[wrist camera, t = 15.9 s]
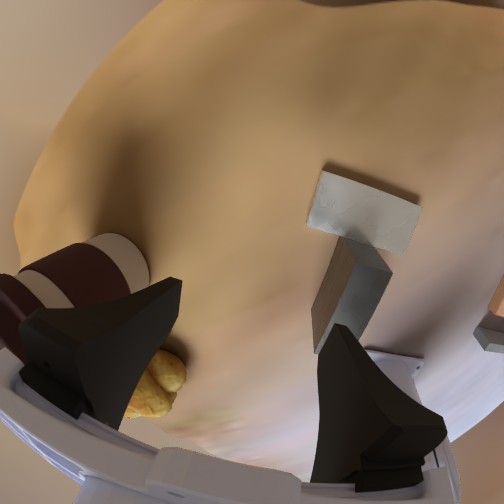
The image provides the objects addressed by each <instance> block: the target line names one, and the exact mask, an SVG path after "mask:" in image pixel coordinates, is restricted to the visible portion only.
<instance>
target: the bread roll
mask: <svg viewBox="0 0 504 504" xmlns="http://www.w3.org/2000/svg"><path fill="white" fill-rule="evenodd" d="M185 380H186V371H185V366H184V364H183V363H182V361H181V360H180V359H179V358H177V357H176V356H175V355H173V354H171V353H169V352H167V351H165V350H162V349H158V351H157V352H156V354H155V355H154V357H153V358H152V359H151V361H150V362H149V364H148V366H147V367H146V369H145V371H144V372H143V374H142V376H141V378H140V380H139V382H138V384H137V386H136V389H135V391H134V393H133V395H132V397H131V399H130V402H129V404H128V406H127V409H126V411H125V414H124V416H126V417H128V418H129V419H130V418H134V417H139V416H142V415H143V416H146V417H161V416H163V415H165V414H167V413H168V412H169V411H170V410H171V408H172V403H173V402H174V400H175V398H176V396H177V392H176V391H178V390H179V389H181V388H182V385H183V383H184V382H185Z"/></svg>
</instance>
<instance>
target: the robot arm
mask: <svg viewBox="0 0 504 504" xmlns="http://www.w3.org/2000/svg"><path fill="white" fill-rule="evenodd" d="M181 288H182V280H179V279H176V278H173V277H168V278H166V279H164V280H162V281H159V282H157V283H155V284H153V285H151V286H149V287H146V288H144V289H142V290H140V291H137V292H135V293H132V294H129V295H127V296H124V297H121V298H118V299H115V300H112V301H108V302H104V303H100V304H94V305H89V306H83V307H74V308H38V309H37V310H35V311H34V312H33V313H32V314H31V315H29V316H28V317H27V318H26V319H25V320H23V321H22V322H21V323H20V324H19V337H20V340H21V343H22V346H23V348H24V351H25V353H26V356H27V358H28V360H29V361H28V362H27V364H26V365H25V366H24V364H23V363H22V361H21V360H20V359H19V358H18V357H16V356H15V355H14V354H13V353H12V352H10V351H9V350H8V349H7V348H6V347H4V348H3V349H2V350H0V420H1V421H2V422H3V423H4V424H6V425H7V426H8V427H9V428H10V429H11V430H12V431H13V432H14V433H15V434H16V435H17V436H18V437H19V438H20V439H22V440H23V441H24V442H25V443H26V444H27V445H28V446H30V447H31V448H32V449H33V450H35V451H36V452H37V453H38V454H39V455H41V456H42V457H43V458H44V459H46V460H47V461H48V462H49V463H51V464H52V465H53V466H55V467H56V468H58V469H59V470H61V471H62V472H63V473H65V474H66V475H68V476H69V477H70V478H72V479H74V480H75V481H77V482H78V483H80V484H81V485H82V486H81V488H80V490H79V492H78V494H77V496H76V497H75V500H74V501H73V503H72V504H459V503H460V498H461V496H462V491H461V486H460V476H459V472H458V467H457V464H456V460H455V457H454V453H453V450H452V447H451V445H450V441H449V439H448V436H447V433H448V432H447V429H446V426H445V423H444V420H443V417H442V416H440V415H438V414H436V413H435V412H433V411H431V410H429V409H427V408H426V407H424V406H422V403H421V401H420V398H419V395H418V392H417V389H416V387H415V384H414V381H413V378H414V377H415V375H416V374H417V373H418V372H419V370H420V369H421V368H422V366H423V365H424V363H425V362H424V360H423V359H420V358H413V357H407V356H401V355H395V354H389V353H383V352H377V351H372V350H364V348H363V347H362V345H361V344H360V343H359V341H358V340H357V339H356V337H355V336H354V335H353V333H352V332H351V331H350V329H349V328H348V327H347V326H346V325H342V324H337V323H334V325H333V327H332V329H331V331H330V333H329V335H328V337H327V339H326V341H325V343H324V345H323V347H322V349H321V350H320V352H319V354H318V367H317V378H318V393H319V410H320V419H319V431H318V441H317V448H316V455H315V461H314V466H313V471H312V476H311V480H310V483H308V482H301V480H300V479H299V478H297V477H296V476H294V475H293V474H291V473H287V472H283V471H279V470H274V469H268V468H262V467H256V466H251V465H246V464H241V463H236V462H232V461H228V460H224V459H220V458H216V457H212V456H209V455H205V454H202V453H198V452H195V451H190V450H187V449H182V448H178V447H165V448H161V449H157V448H155V447H152V446H150V445H147V444H145V443H143V442H140V441H138V440H136V439H134V438H131V437H129V436H127V435H125V434H122V433H120V432H119V431H118V429H119V426H120V424H121V421H122V418H123V416H124V414H125V411H126V409H127V406H128V404H129V402H130V399H131V397H132V395H133V393H134V391H135V389H136V386H137V384H138V382H139V380H140V378H141V376H142V374H143V372H144V371H145V369H146V367H147V366H148V364H149V362H150V361H151V359H152V358H153V357H154V355H155V354H156V352H157V351H158V349H159V348H160V346H161V345H162V343H163V342H164V340H165V339H166V337H167V336H168V334H169V333H170V331H171V329H172V327H173V325H174V323H175V321H176V319H177V317H178V313H179V304H180V296H181Z"/></svg>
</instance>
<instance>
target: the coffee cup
mask: <svg viewBox="0 0 504 504" xmlns="http://www.w3.org/2000/svg"><path fill="white" fill-rule="evenodd" d="M146 287H149V271H148V267H147V264H146V261H145V259H144V257H143V255H142V253H141V252H140V251H139V249H138V248H137V247H136V246H135V245H134V244H133V243H132V242H131V241H130V240H128V239H127V238H125V237H123V236H121V235H119V234H115V233H104V234H101V235H98V236H96V237H94V238H92V239H89V240H87V241H85V242H83V243H75V244H72V245H70V246H67V247H65V248H63V249H61V250H59V251H56V252H54V253H52V254H50V255H48V256H46V257H44V258H42V259H40V260H38V261H36V262H33V263H31V264H29V265H27V266H25V267H24V268H22V269H21V270H20V271H19V273H18V274H17V275H15V276H11V275H7V274H0V350H2V349H3V348H4V347H6V348H7V349H8V350H9V351H10V352H12V353H13V354H14V355H15V356H16V357H18V358H19V359H20V360H21V361H22V363H23V364H24V366H25V365H26V364H27V362H28V361H29V360H28V358H27V356H26V353H25V351H24V348H23V346H22V343H21V340H20V337H19V324H20V323H21V322H22V321H23V320H25V319H26V318H27V317H28V316H29V315H31V314H32V313H33V312H34V311H35V310H37V309H38V308H74V307H83V306H89V305H94V304H100V303H104V302H108V301H112V300H115V299H118V298H121V297H124V296H127V295H129V294H132V293H135V292H137V291H140V290H142V289H144V288H146Z"/></svg>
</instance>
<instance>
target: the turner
mask: <svg viewBox="0 0 504 504" xmlns="http://www.w3.org/2000/svg"><path fill="white" fill-rule="evenodd" d="M421 210H422V207H420V206H419V205H417V204H414V203H412V202H409V201H407V200H405V199H402V198H400V197H397V196H395V195H392V194H390V193H387V192H384V191H382V190H379V189H377V188H374V187H371V186H368V185H366V184H363V183H360V182H357V181H354V180H351V179H348V178H346V177H343V176H340V175H336V174H333V173H330V172H327V171H324V170H321V173H320V177H319V180H318V183H317V187H316V190H315V194H314V197H313V200H312V204H311V207H310V210H309V214H308V217H307V220H306V226H309V227H312V228H315V229H319V230H322V231H325V232H329V233H332V234H335V235H339V239H338V242H337V245H336V247H335V250H334V253H333V256H332V258H331V261H330V264H329V266H328V269H327V271H326V274H325V277H324V279H323V282H322V284H321V287H320V289H319V292H318V294H317V297H316V299H315V302H314V304H313V306H312V309H311V315H312V328H313V343H314V353H315V354H319V352H320V350H321V349H322V347H323V345H324V343H325V341H326V339H327V337H328V335H329V333H330V331H331V329H332V327H333V325H334V323H337V324H342V325H346V326H347V327H348V328H349V329H350V331H351V332H352V333H353V335H354V336H355V337H356V339H357V340H359V339H360V337H361V335H362V333H363V332H364V330H365V328H366V326H367V324H368V322H369V321H370V319H371V317H372V315H373V313H374V311H375V309H376V307H377V305H378V303H379V301H380V299H381V297H382V295H383V293H384V291H385V289H386V287H387V285H388V283H389V281H390V278H391V276H392V274H393V273H392V271H391V270H390V268H389V267H388V266H387V264H386V263H385V261H384V260H383V259H382V257H381V256H380V255H379V253H378V252H377V250H376V249H375V248H374V247H377V248H380V249H383V250H386V251H389V252H392V253H395V254H398V255H401V256H404V254H405V252H406V250H407V247H408V245H409V242H410V240H411V237H412V235H413V232H414V229H415V227H416V224H417V221H418V219H419V216H420V213H421Z"/></svg>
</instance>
